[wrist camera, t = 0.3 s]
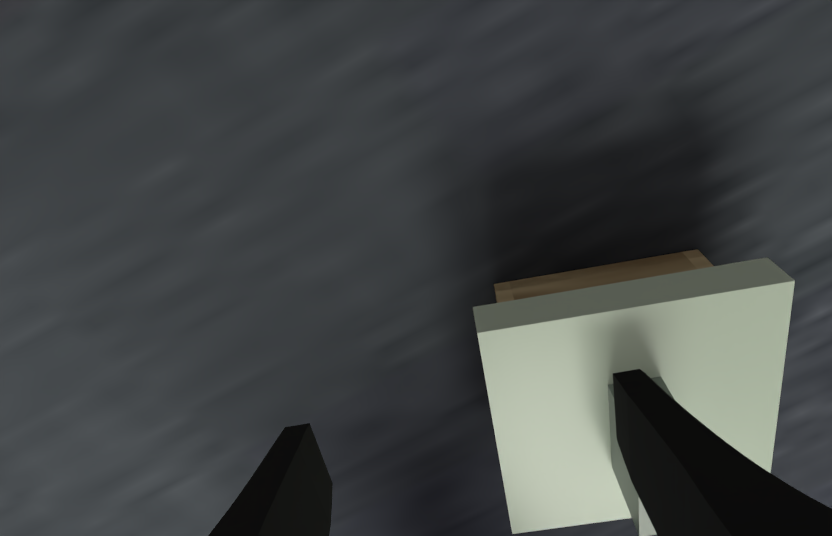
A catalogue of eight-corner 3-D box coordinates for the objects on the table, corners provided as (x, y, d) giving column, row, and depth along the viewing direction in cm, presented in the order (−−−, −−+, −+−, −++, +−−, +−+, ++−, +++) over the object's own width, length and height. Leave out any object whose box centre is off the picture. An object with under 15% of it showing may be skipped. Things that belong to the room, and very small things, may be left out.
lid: (746, 467, 24) (813, 570, 20) (506, 501, 25) (524, 606, 21) (767, 257, 20) (859, 335, 16) (472, 307, 21) (487, 394, 17)
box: (691, 404, 27) (734, 473, 23) (516, 430, 27) (531, 501, 24) (697, 249, 23) (749, 302, 19) (494, 283, 24) (508, 342, 20)
